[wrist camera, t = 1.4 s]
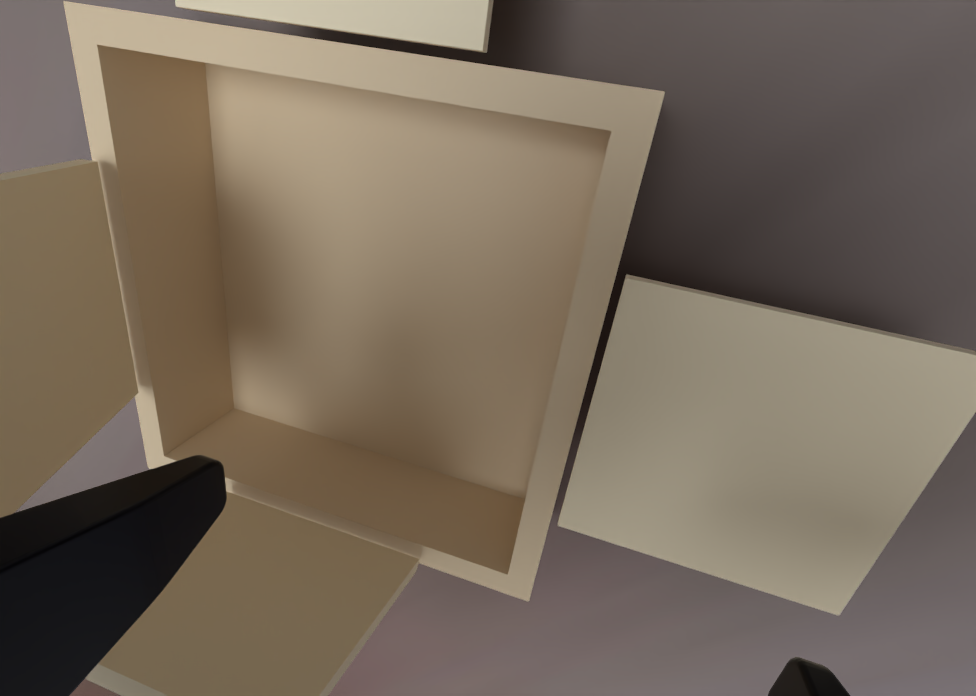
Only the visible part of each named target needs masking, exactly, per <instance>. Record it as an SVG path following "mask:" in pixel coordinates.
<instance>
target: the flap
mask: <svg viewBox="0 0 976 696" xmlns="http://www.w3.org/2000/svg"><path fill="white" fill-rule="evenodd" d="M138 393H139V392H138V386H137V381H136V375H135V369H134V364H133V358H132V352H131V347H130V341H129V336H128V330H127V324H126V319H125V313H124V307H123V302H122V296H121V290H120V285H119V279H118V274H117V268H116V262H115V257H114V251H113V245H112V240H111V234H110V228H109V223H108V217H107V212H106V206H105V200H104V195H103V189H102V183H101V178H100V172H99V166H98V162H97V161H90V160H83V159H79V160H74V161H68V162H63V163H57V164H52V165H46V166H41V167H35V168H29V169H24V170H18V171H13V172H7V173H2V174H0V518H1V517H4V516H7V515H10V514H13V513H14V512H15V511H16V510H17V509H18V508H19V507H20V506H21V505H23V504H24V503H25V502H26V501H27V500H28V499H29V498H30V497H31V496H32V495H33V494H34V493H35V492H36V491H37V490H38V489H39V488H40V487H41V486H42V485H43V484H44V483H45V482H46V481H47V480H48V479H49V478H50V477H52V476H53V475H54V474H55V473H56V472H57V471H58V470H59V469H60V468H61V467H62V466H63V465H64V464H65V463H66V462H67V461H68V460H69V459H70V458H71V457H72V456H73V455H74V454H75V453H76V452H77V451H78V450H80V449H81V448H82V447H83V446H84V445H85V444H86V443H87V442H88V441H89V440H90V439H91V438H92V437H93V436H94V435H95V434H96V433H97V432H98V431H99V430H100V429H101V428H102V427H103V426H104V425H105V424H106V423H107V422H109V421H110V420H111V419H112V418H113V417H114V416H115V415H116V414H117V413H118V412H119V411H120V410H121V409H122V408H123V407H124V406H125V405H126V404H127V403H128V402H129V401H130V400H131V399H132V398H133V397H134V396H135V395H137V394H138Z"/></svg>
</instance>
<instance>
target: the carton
mask: <svg viewBox="0 0 976 696" xmlns="http://www.w3.org/2000/svg"><path fill="white" fill-rule="evenodd" d="M493 1H494V0H175V3H176V7H180V8H184V9H189V10H196V11H203V12H209V13H216V14H223V15H230V16H237V17H244V18H251V19H257V20H264V21H271V22H278V23H285V24H292V25H298V26H305V27H312V28H319V29H326V30H333V31H340V32H346V33H353V34H360V35H367V36H374V37H381V38H388V39H394V40H401V41H408V42H415V43H422V44H429V45H435V46H442V47H449V48H456V49H463V50H470V51H477V52H483V53H487V48H488V40H489V32H490V25H491V17H492V9H493ZM63 2H64V8H65V13H66V19H67V24H68V30H69V35H70V41H71V46H72V52H73V57H74V63H75V68H76V74H77V79H78V85H79V90H80V96H81V101H82V107H83V112H84V118H85V123H86V129H87V134H88V140H89V145H90V151H91V156H92V161H97V162H98V166H99V172H100V178H101V183H102V189H103V195H104V200H105V206H106V212H107V217H108V223H109V228H110V234H111V240H112V245H113V251H114V257H115V262H116V268H117V274H118V279H119V285H120V290H121V296H122V302H123V307H124V313H125V319H126V324H127V330H128V336H129V341H130V347H131V352H132V358H133V364H134V369H135V375H136V381H137V386H138V392H139V393H138V394H137V395H135V399H136V404H137V410H138V415H139V421H140V426H141V432H142V437H143V443H144V448H145V454H146V459H147V465H148V468H150V469H154V468H157V467H160V466H163V465H166V464H169V463H172V462H175V461H178V460H182V459H185V458H188V457H191V456H194V455H204V456H207V457H210V458H213V459H216V460H218V461H220V462H221V463H222V464H223V466H224V473H225V483H226V491H227V492H230V493H233V494H236V495H239V496H241V497H244V498H247V499H250V500H253V501H256V502H259V503H261V504H264V505H267V506H270V507H273V508H276V509H279V510H281V511H284V512H287V513H290V514H293V515H296V516H299V517H301V518H304V519H307V520H310V521H313V522H316V523H319V524H321V525H324V526H327V527H330V528H333V529H336V530H338V531H341V532H344V533H347V534H350V535H353V536H356V537H358V538H361V539H364V540H367V541H370V542H373V543H376V544H378V545H381V546H384V547H387V548H390V549H393V550H396V551H398V552H401V553H404V554H407V555H410V556H413V557H416V558H418V559H419V563H420V564H423V565H426V566H428V567H431V568H434V569H437V570H440V571H443V572H445V573H448V574H451V575H454V576H457V577H460V578H462V579H465V580H468V581H471V582H474V583H477V584H480V585H482V586H485V587H488V588H491V589H494V590H497V591H499V592H502V593H505V594H508V595H511V596H514V597H516V598H519V599H522V600H525V601H528V602H529V599H530V595H531V592H532V588H533V584H534V580H535V577H536V573H537V569H538V565H539V562H540V558H541V554H542V550H543V547H544V543H545V539H546V535H547V532H548V528H549V524H550V520H551V517H552V513H553V509H554V506H555V502H556V498H557V494H558V491H559V487H560V483H561V479H562V476H563V472H564V468H565V464H566V461H567V457H568V453H569V449H570V446H571V442H572V438H573V435H574V431H575V427H576V423H577V420H578V416H579V412H580V408H581V405H582V401H583V397H584V393H585V390H586V386H587V382H588V378H589V375H590V371H591V367H592V363H593V360H594V356H595V352H596V349H597V345H598V341H599V337H600V334H601V330H602V326H603V322H604V319H605V315H606V311H607V307H608V304H609V300H610V296H611V292H612V289H613V285H614V281H615V278H616V274H617V270H618V266H619V263H620V259H621V255H622V251H623V248H624V244H625V240H626V236H627V233H628V229H629V225H630V221H631V218H632V214H633V210H634V206H635V203H636V199H637V195H638V192H639V188H640V184H641V180H642V177H643V173H644V169H645V165H646V162H647V158H648V154H649V150H650V147H651V143H652V139H653V135H654V132H655V128H656V124H657V121H658V117H659V113H660V109H661V106H662V102H663V98H664V94H665V91H658V90H651V89H645V88H638V87H631V86H625V85H618V84H611V83H605V82H598V81H592V80H585V79H578V78H572V77H565V76H558V75H552V74H545V73H538V72H532V71H525V70H518V69H512V68H505V67H499V66H492V65H485V64H479V63H472V62H465V61H459V60H452V59H445V58H439V57H432V56H425V55H419V54H412V53H405V52H399V51H392V50H386V49H379V48H372V47H366V46H359V45H352V44H346V43H339V42H332V41H326V40H319V39H312V38H306V37H299V36H293V35H286V34H279V33H273V32H266V31H259V30H253V29H246V28H239V27H233V26H226V25H219V24H213V23H206V22H200V21H193V20H186V19H180V18H173V17H166V16H160V15H153V14H146V13H140V12H133V11H126V10H120V9H113V8H107V7H100V6H93V5H87V4H80V3H73V2H67V1H63ZM975 412H976V351H974V350H969V349H965V348H960V347H955V346H951V345H946V344H942V343H937V342H933V341H928V340H924V339H919V338H914V337H910V336H905V335H901V334H896V333H892V332H887V331H883V330H878V329H873V328H869V327H864V326H860V325H855V324H851V323H846V322H842V321H837V320H833V319H828V318H823V317H819V316H814V315H810V314H805V313H801V312H796V311H792V310H787V309H782V308H778V307H773V306H769V305H764V304H760V303H755V302H751V301H746V300H741V299H737V298H732V297H728V296H723V295H719V294H714V293H710V292H705V291H700V290H696V289H691V288H687V287H682V286H678V285H673V284H669V283H664V282H659V281H655V280H650V279H646V278H641V277H637V276H632V275H628V274H626V277H625V281H624V284H623V288H622V291H621V295H620V299H619V302H618V306H617V310H616V313H615V317H614V320H613V324H612V328H611V331H610V335H609V338H608V342H607V346H606V349H605V353H604V357H603V360H602V364H601V367H600V371H599V375H598V378H597V382H596V386H595V389H594V393H593V396H592V400H591V404H590V407H589V411H588V414H587V418H586V422H585V425H584V429H583V433H582V436H581V440H580V443H579V447H578V451H577V454H576V458H575V462H574V465H573V469H572V472H571V476H570V480H569V483H568V487H567V490H566V494H565V498H564V501H563V505H562V509H561V512H560V516H559V520H558V524H557V526H560V527H563V528H566V529H569V530H572V531H576V532H579V533H582V534H585V535H588V536H591V537H594V538H597V539H601V540H604V541H607V542H610V543H613V544H616V545H619V546H622V547H626V548H629V549H632V550H635V551H638V552H641V553H644V554H647V555H651V556H654V557H657V558H660V559H663V560H666V561H669V562H672V563H676V564H679V565H682V566H685V567H688V568H691V569H694V570H697V571H701V572H704V573H707V574H710V575H713V576H716V577H719V578H722V579H726V580H729V581H732V582H735V583H738V584H741V585H744V586H747V587H751V588H754V589H757V590H760V591H763V592H766V593H769V594H773V595H776V596H779V597H782V598H785V599H788V600H791V601H794V602H798V603H801V604H804V605H807V606H810V607H813V608H816V609H819V610H823V611H826V612H829V613H832V614H835V615H838V616H839V615H840V614H841V612H842V611H843V609H844V608H845V606H846V605H847V603H848V602H849V600H850V599H851V597H852V596H853V594H854V593H855V591H856V590H857V588H858V587H859V585H860V584H861V582H862V581H863V579H864V578H865V576H866V575H867V573H868V572H869V570H870V569H871V567H872V566H873V564H874V563H875V561H876V560H877V558H878V557H879V555H880V554H881V552H882V551H883V549H884V548H885V546H886V545H887V544H888V542H889V541H890V539H891V538H892V536H893V535H894V533H895V532H896V530H897V529H898V527H899V526H900V524H901V523H902V521H903V520H904V518H905V517H906V515H907V514H908V512H909V511H910V509H911V508H912V506H913V505H914V503H915V502H916V500H917V499H918V497H919V496H920V494H921V493H922V491H923V490H924V488H925V487H926V485H927V484H928V482H929V481H930V479H931V478H932V476H933V475H934V473H935V472H936V470H937V469H938V467H939V466H940V464H941V463H942V461H943V460H944V458H945V457H946V456H947V454H948V453H949V451H950V450H951V448H952V447H953V445H954V444H955V442H956V441H957V439H958V438H959V436H960V435H961V433H962V432H963V430H964V429H965V427H966V426H967V424H968V423H969V421H970V420H971V418H972V417H973V415H974V414H975Z"/></svg>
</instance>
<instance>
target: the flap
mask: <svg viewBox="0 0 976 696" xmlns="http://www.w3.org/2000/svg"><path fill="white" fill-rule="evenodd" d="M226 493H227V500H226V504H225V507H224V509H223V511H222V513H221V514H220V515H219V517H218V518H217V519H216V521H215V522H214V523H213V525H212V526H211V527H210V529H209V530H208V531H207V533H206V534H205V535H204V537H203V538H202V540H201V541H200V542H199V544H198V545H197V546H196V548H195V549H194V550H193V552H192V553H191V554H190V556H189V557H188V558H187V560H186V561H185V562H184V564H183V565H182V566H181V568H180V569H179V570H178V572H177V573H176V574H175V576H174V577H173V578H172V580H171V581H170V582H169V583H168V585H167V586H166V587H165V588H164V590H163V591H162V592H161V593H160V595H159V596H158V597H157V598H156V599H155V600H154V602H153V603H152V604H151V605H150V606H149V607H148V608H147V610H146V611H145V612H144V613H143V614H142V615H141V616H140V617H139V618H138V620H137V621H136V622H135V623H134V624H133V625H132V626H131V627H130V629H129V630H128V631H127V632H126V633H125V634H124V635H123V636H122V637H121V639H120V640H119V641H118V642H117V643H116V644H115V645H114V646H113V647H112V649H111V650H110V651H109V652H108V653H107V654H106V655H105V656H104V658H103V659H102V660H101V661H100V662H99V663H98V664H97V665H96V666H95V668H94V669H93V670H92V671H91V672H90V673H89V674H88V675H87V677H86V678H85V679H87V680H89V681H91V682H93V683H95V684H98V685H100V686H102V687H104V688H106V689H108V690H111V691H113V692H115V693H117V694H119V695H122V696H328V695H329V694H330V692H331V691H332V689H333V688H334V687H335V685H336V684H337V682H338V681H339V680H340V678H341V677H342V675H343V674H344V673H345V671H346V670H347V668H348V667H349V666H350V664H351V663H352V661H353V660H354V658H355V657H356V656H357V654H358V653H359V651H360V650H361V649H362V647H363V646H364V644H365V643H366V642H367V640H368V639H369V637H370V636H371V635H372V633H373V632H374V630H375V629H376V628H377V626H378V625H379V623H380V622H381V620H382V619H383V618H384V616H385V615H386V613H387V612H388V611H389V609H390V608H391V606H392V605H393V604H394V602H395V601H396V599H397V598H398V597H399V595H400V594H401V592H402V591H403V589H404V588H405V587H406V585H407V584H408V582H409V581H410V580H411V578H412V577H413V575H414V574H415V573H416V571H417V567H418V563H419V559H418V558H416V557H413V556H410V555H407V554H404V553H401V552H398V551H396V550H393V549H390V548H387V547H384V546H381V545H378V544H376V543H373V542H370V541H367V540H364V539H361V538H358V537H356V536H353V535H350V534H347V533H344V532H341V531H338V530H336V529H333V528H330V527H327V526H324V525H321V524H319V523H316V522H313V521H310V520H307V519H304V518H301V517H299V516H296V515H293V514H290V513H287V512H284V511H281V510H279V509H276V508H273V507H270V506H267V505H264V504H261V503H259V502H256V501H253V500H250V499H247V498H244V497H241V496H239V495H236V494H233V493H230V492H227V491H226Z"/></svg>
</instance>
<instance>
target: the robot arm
mask: <svg viewBox="0 0 976 696" xmlns="http://www.w3.org/2000/svg"><path fill="white" fill-rule="evenodd" d="M226 500H227V493H226V483H225V473H224V466H223V464H222V463H221V462H220V461H218V460H216V459H213V458H210V457H207V456H204V455H194V456H191V457H188V458H185V459H182V460H178V461H175V462H172V463H169V464H166V465H163V466H160V467H157V468H154V469H150V470H147V471H144V472H141V473H138V474H135V475H132V476H129V477H126V478H122V479H119V480H116V481H113V482H110V483H107V484H104V485H101V486H98V487H94V488H91V489H88V490H85V491H82V492H79V493H76V494H73V495H70V496H66V497H63V498H60V499H57V500H54V501H51V502H48V503H45V504H41V505H38V506H35V507H32V508H29V509H26V510H23V511H20V512H16V513H13V514H10V515H7V516H4V517H1V518H0V696H69V695H70V694H71V693H72V692H73V691H74V690H75V689H76V688H77V687H78V685H79V684H80V683H81V682H82V681H83V680H84V679H85V678H86V677H87V675H88V674H89V673H90V672H91V671H92V670H93V669H94V668H95V666H96V665H97V664H98V663H99V662H100V661H101V660H102V659H103V658H104V656H105V655H106V654H107V653H108V652H109V651H110V650H111V649H112V647H113V646H114V645H115V644H116V643H117V642H118V641H119V640H120V639H121V637H122V636H123V635H124V634H125V633H126V632H127V631H128V630H129V629H130V627H131V626H132V625H133V624H134V623H135V622H136V621H137V620H138V618H139V617H140V616H141V615H142V614H143V613H144V612H145V611H146V610H147V608H148V607H149V606H150V605H151V604H152V603H153V602H154V600H155V599H156V598H157V597H158V596H159V595H160V593H161V592H162V591H163V590H164V588H165V587H166V586H167V585H168V583H169V582H170V581H171V580H172V578H173V577H174V576H175V574H176V573H177V572H178V570H179V569H180V568H181V566H182V565H183V564H184V562H185V561H186V560H187V558H188V557H189V556H190V554H191V553H192V552H193V550H194V549H195V548H196V546H197V545H198V544H199V542H200V541H201V540H202V538H203V537H204V535H205V534H206V533H207V531H208V530H209V529H210V527H211V526H212V525H213V523H214V522H215V521H216V519H217V518H218V517H219V515H220V514H221V513H222V511H223V509H224V507H225V504H226ZM768 696H850V695H849V693H848V692H847V691H846V690H845V688H844V687H843V686H842V684H841V683H840V682H839V680H838V679H837V678H836V676H835V675H834V674H833V673H832V672H831V671H830V670H829V669H828V668H826V667H825V666H822V665H820V664H817V663H814V662H811V661H808V660H805V659H802V658H799V657H795V658H792V659H790V660H789V662H788V663H787V664H786V666H785V668H784V669H783V671H782V672H781V674H780V675H779V677H778V678H777V680H776V682H775V683H774V685H773V686H772V688H771V689H770V691H769V694H768Z"/></svg>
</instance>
